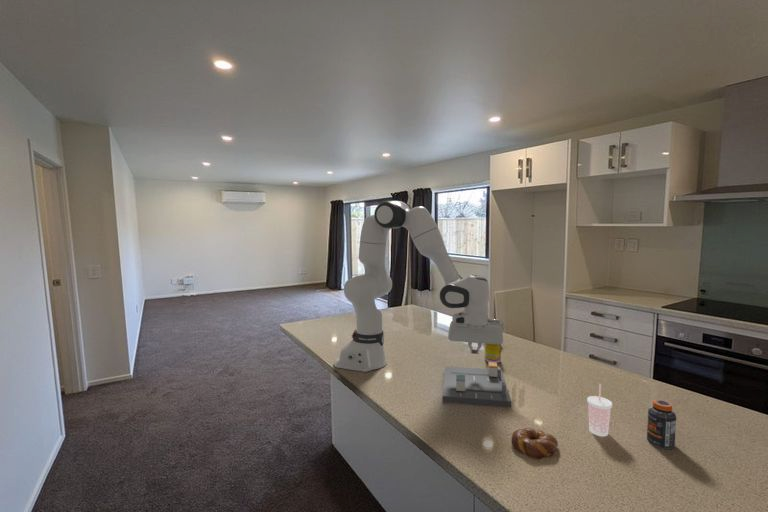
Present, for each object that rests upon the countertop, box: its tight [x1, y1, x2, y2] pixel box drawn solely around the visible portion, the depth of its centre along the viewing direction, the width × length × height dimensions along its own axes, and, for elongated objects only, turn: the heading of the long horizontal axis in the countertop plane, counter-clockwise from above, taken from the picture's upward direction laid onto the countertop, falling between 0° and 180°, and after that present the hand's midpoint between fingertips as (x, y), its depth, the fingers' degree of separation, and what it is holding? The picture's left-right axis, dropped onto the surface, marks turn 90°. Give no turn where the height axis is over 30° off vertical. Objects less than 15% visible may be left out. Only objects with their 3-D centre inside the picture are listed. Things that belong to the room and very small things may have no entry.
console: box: [442, 366, 513, 408], centre depth 130 cm, size 22×26×5 cm
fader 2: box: [487, 362, 499, 377], centre depth 135 cm, size 3×4×4 cm
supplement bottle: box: [484, 343, 502, 364], centre depth 155 cm, size 7×7×13 cm
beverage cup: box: [586, 383, 613, 437], centre depth 100 cm, size 6×6×14 cm
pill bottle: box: [646, 399, 677, 450], centre depth 95 cm, size 6×6×11 cm
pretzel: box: [511, 427, 559, 460], centre depth 94 cm, size 12×11×4 cm
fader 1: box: [456, 375, 465, 391], centre depth 124 cm, size 3×4×4 cm
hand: (474, 353), depth 137 cm, fingers closed
